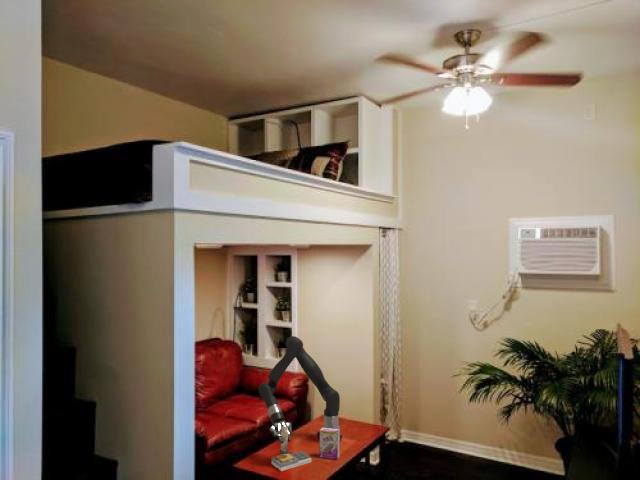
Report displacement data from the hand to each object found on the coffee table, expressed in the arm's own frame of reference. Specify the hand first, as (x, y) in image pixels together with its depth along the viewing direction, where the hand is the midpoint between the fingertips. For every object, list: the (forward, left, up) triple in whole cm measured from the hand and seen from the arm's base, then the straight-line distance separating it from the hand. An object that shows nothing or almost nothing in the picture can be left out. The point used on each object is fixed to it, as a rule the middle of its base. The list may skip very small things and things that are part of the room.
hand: (286, 441), depth 278 cm
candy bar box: (-27, +5, -14) cm, 30 cm away
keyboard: (-5, -2, -14) cm, 15 cm away
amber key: (0, -2, -10) cm, 11 cm away
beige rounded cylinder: (0, -2, -6) cm, 7 cm away
